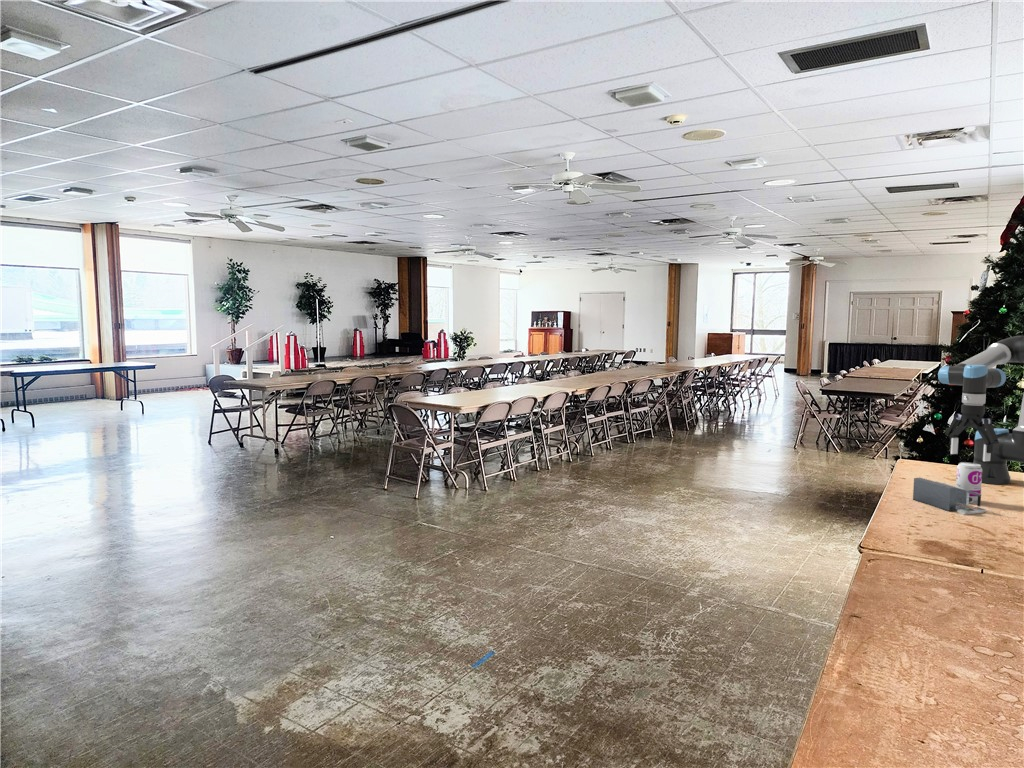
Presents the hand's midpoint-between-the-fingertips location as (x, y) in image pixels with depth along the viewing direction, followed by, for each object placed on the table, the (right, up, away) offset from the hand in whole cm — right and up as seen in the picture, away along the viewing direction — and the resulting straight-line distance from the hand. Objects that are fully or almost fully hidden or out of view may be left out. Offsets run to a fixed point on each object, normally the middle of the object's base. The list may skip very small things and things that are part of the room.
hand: (969, 457), depth 253 cm
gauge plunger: (-7, -17, -3) cm, 19 cm away
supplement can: (+1, -18, +2) cm, 18 cm away
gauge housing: (-11, -19, -3) cm, 22 cm away
